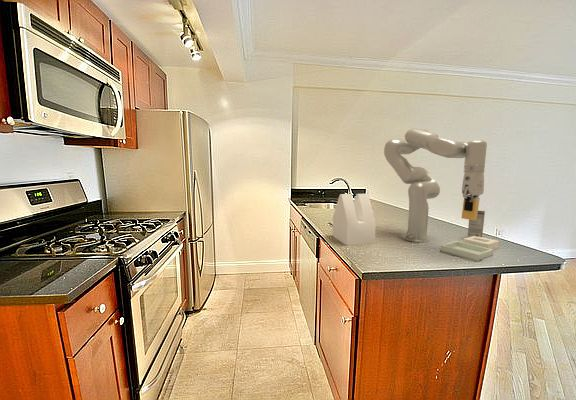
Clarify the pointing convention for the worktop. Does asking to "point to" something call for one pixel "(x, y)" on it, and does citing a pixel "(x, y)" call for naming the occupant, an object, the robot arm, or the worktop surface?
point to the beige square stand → (482, 242)
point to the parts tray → (466, 250)
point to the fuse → (472, 214)
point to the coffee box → (476, 225)
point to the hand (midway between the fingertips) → (470, 209)
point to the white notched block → (354, 220)
